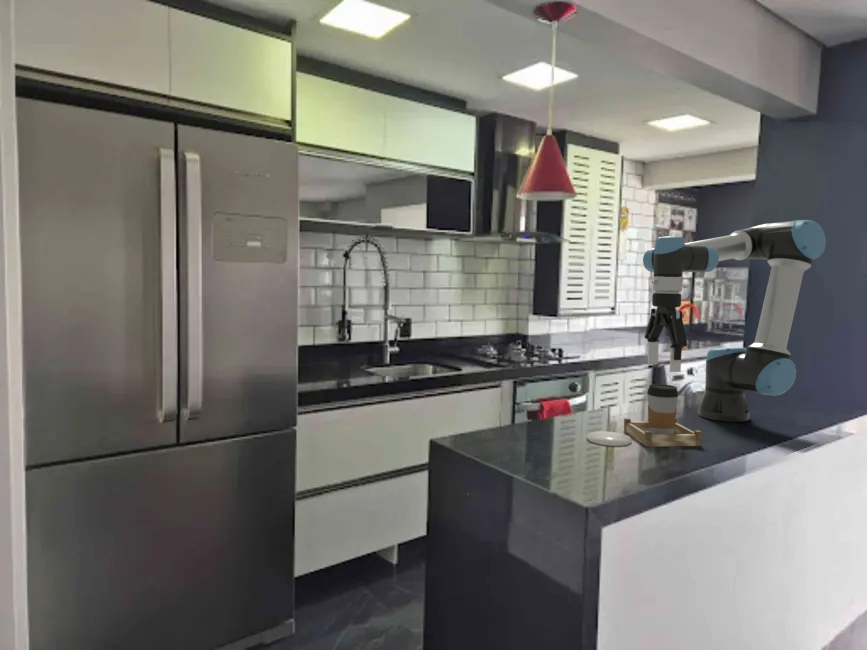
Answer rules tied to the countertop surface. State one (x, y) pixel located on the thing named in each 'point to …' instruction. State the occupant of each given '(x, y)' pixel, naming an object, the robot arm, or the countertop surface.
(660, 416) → the coffee cup
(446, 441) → the countertop surface
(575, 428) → the countertop surface
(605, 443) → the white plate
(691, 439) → the wooden frame
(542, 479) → the countertop surface
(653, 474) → the countertop surface
